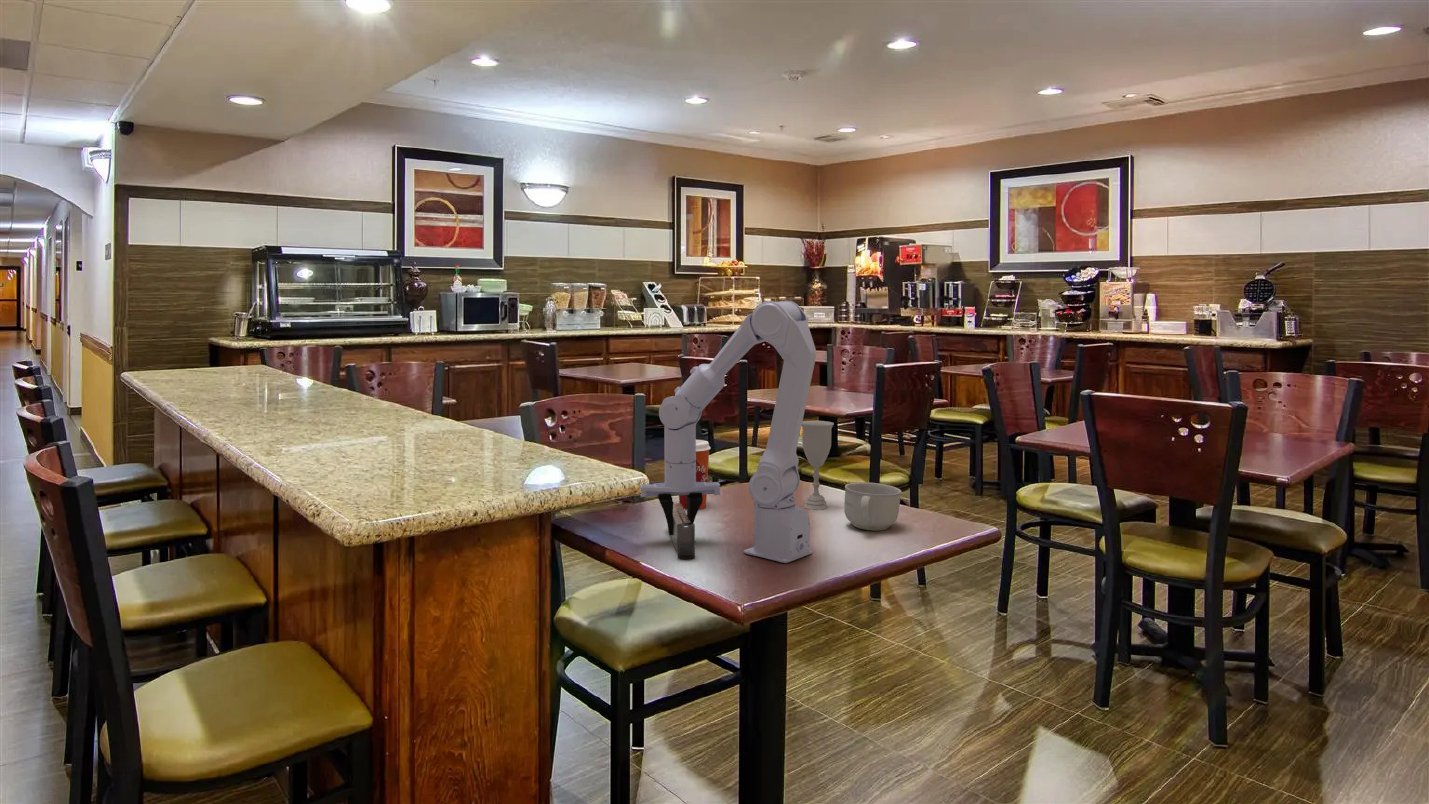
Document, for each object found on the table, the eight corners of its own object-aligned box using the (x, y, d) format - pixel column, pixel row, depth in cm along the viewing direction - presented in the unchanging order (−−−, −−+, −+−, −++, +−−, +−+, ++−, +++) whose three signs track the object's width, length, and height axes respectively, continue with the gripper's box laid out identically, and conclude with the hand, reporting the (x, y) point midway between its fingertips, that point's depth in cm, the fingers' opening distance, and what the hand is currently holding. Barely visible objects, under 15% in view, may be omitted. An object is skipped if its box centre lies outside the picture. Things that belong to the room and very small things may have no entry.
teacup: (856, 517, 185) (857, 478, 184) (908, 524, 179) (909, 484, 178) (828, 533, 173) (829, 492, 172) (882, 541, 167) (883, 498, 166)
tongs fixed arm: (696, 559, 156) (695, 526, 155) (678, 560, 156) (678, 527, 155) (681, 528, 176) (681, 499, 175) (666, 529, 176) (666, 500, 175)
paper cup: (706, 511, 189) (706, 445, 188) (670, 510, 191) (670, 444, 189) (714, 503, 197) (714, 439, 195) (679, 501, 198) (679, 438, 197)
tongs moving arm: (683, 552, 159) (683, 524, 159) (676, 552, 159) (676, 524, 159) (673, 527, 176) (673, 502, 175) (667, 527, 176) (667, 502, 175)
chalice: (792, 506, 194) (793, 422, 192) (813, 501, 199) (814, 419, 196) (818, 512, 189) (819, 426, 186) (839, 507, 193) (840, 423, 191)
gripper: (716, 455, 170) (715, 526, 172) (638, 457, 168) (639, 529, 170) (722, 463, 163) (721, 536, 165) (641, 465, 161) (642, 539, 163)
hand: (680, 533), depth 167 cm, fingers open, 3 cm apart
